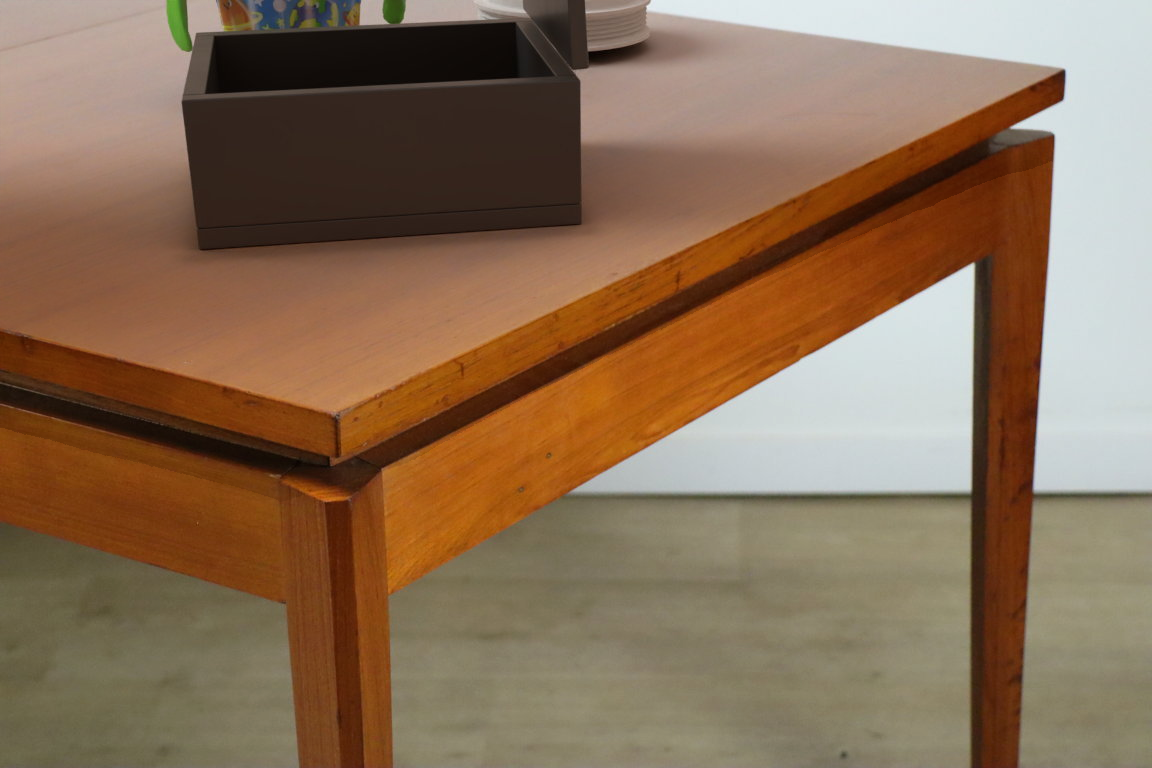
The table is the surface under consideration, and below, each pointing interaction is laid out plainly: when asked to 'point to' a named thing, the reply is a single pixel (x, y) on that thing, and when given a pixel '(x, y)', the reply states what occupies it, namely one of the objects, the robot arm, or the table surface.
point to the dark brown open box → (380, 132)
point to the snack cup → (278, 15)
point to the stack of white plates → (587, 20)
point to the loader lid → (562, 27)
